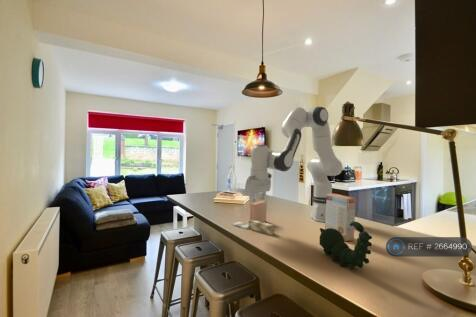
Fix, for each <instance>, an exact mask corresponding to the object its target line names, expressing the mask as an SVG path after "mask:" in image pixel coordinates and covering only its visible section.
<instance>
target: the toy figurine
mask: <svg viewBox="0 0 476 317" xmlns="http://www.w3.org/2000/svg"><path fill="white" fill-rule="evenodd" d="M350 226H354V229H355V230H356V231H357V232H358V237H357V239H356V244H355V245H354V249H352V248H350V246H349V245H348V244H347V243H346V241H344V238H343V236H342V234H341V233H340V232H339V231H338V230H336V229H333V228H328V229H325V228H323V227H320V228H319V231H320V234H319V245H320V246H321V248H322V249H323V252H324V254H326V255H328V256H330V259H331V260H332V261H337V260H339V262H338V264H339V266H340V267H345V266H348V268H349V270H354V269H355V268H356V267H357V268H360V269H362V268H363V267H364V264H369V263H370V259H369V258H368V257H367V255H371V254H372V251H371V250H370V249H368V248H369V247H372V246H373V244H372V242H371V241H370V240H372V239H373V237H372V235H370V233H368V232H367V231H365V229H364V226H363V224H362V223H361V222H358V221H356V220H355V221H354V222H351V223H350Z"/></svg>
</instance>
